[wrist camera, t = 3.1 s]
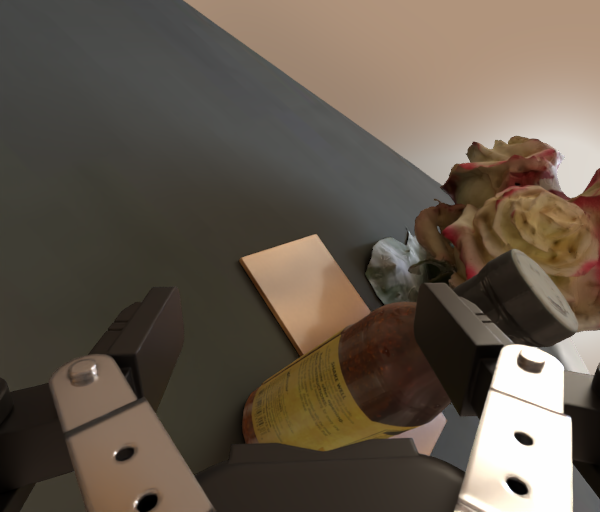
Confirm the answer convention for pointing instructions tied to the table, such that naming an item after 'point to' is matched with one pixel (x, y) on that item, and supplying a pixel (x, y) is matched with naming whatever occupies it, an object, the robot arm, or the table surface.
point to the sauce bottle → (396, 364)
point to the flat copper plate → (317, 305)
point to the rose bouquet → (501, 228)
